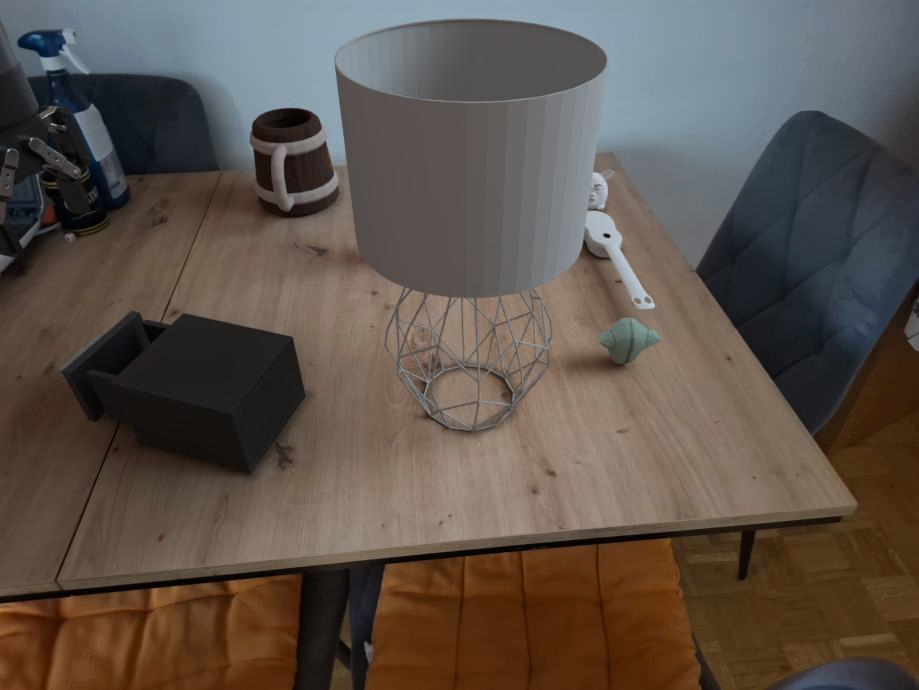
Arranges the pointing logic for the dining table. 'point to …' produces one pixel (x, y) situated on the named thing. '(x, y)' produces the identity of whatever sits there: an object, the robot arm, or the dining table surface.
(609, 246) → the white toy ukulele
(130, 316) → the drawer
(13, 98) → the robot arm
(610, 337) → the green spinning top
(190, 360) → the cabinet
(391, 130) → the table lamp
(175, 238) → the dining table surface
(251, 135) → the mug
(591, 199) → the figurine
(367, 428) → the dining table surface
